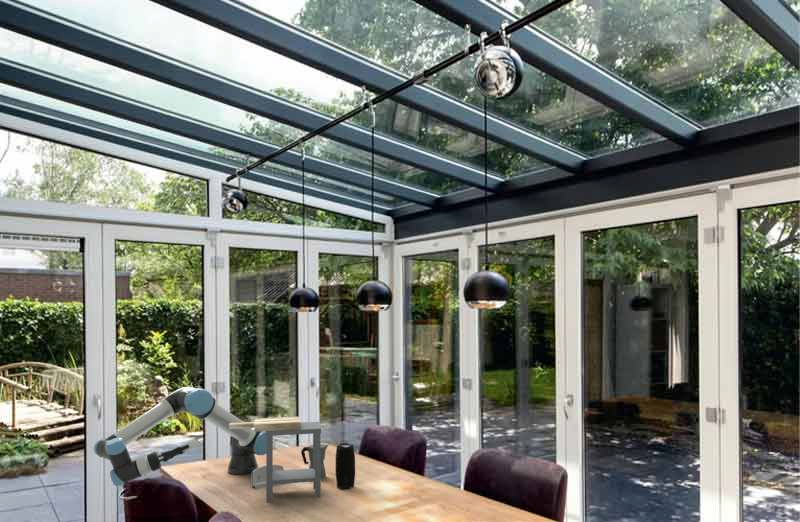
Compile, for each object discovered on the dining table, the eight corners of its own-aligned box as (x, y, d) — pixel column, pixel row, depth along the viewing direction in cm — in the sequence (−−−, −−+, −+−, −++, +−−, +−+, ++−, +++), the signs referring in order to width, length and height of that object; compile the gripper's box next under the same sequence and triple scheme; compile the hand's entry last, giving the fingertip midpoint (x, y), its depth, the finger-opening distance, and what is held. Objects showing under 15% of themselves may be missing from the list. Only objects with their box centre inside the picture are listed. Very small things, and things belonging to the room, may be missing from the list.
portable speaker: (339, 484, 292) (339, 442, 294) (358, 485, 290) (357, 443, 291) (332, 489, 284) (332, 446, 285) (352, 490, 281) (351, 446, 283)
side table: (266, 490, 284) (266, 424, 286) (319, 486, 288) (318, 421, 291) (265, 502, 266) (265, 431, 269) (321, 498, 271) (321, 428, 273)
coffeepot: (323, 473, 313) (323, 437, 315) (333, 476, 306) (333, 439, 307) (296, 478, 304) (296, 441, 305) (306, 482, 296) (306, 444, 298)
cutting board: (230, 426, 282) (230, 419, 283) (299, 423, 288) (299, 416, 288) (227, 433, 267) (227, 425, 267) (300, 429, 272) (300, 422, 273)
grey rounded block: (254, 489, 287) (252, 467, 290) (251, 490, 290) (248, 468, 294) (288, 483, 296) (285, 461, 299) (284, 484, 299) (281, 463, 303)
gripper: (155, 470, 279) (202, 450, 286) (148, 473, 256) (198, 451, 263) (150, 454, 280) (196, 435, 287) (142, 455, 257) (192, 434, 264)
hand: (197, 442), depth 275 cm, fingers open, 13 cm apart
